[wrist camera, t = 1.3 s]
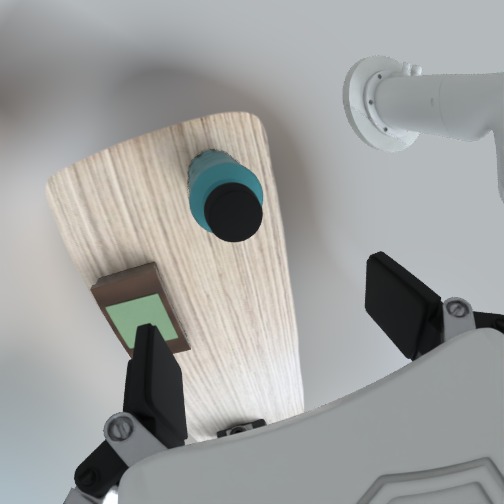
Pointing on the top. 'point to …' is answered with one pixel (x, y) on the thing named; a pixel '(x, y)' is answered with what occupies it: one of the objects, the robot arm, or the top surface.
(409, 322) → the robot arm
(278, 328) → the top surface
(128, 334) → the shelf
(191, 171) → the beverage bottle
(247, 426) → the camera
